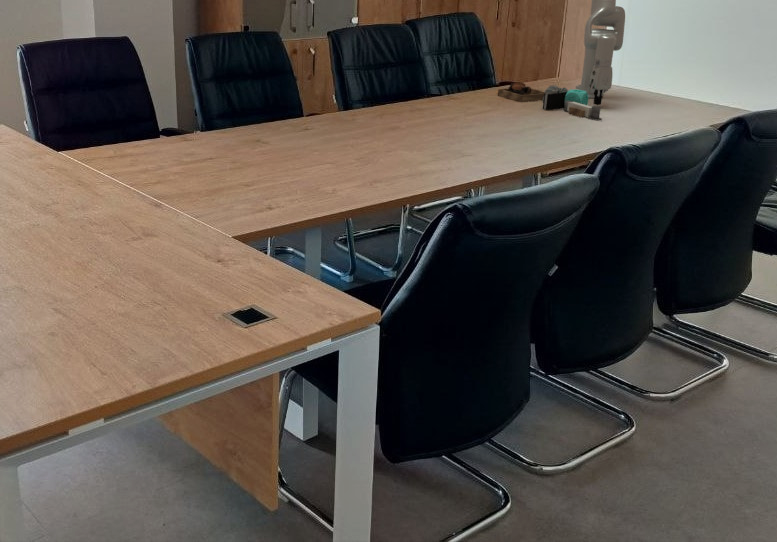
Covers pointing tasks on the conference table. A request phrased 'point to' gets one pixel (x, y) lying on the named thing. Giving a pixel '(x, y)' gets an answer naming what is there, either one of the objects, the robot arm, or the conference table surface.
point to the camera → (554, 98)
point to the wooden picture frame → (533, 96)
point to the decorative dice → (577, 96)
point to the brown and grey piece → (579, 112)
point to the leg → (579, 106)
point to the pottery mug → (519, 88)
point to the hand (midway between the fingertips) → (597, 104)
